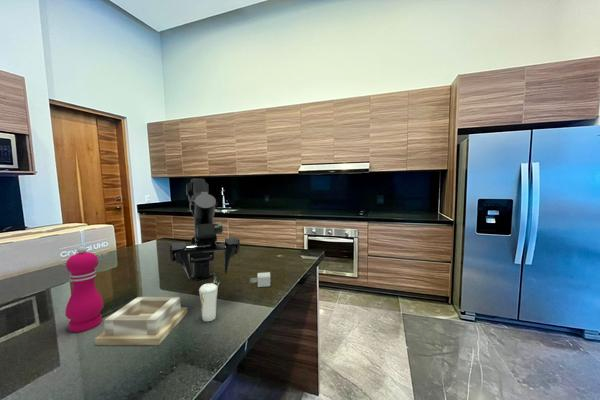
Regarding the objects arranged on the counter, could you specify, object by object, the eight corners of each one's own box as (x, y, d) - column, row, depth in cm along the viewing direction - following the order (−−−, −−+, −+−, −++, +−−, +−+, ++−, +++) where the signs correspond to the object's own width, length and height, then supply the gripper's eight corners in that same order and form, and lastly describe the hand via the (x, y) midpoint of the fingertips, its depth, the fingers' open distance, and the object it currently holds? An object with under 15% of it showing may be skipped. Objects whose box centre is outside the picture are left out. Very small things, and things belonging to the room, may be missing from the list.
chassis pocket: (136, 312, 69) (136, 294, 68) (187, 312, 69) (187, 294, 68) (95, 345, 55) (93, 323, 54) (158, 345, 55) (157, 323, 54)
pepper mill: (81, 318, 66) (77, 243, 65) (110, 316, 67) (107, 242, 65) (57, 334, 59) (52, 250, 58) (90, 332, 59) (86, 250, 58)
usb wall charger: (270, 287, 86) (270, 275, 86) (249, 288, 85) (249, 276, 85) (269, 282, 90) (269, 271, 90) (250, 283, 89) (250, 272, 89)
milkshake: (215, 324, 63) (214, 285, 62) (196, 322, 64) (195, 284, 63) (224, 315, 67) (223, 279, 67) (206, 313, 68) (205, 277, 68)
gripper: (169, 214, 68) (167, 265, 59) (238, 211, 76) (247, 256, 66) (171, 237, 76) (170, 286, 66) (233, 232, 83) (241, 275, 74)
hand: (208, 275), depth 68 cm, fingers open, 9 cm apart
